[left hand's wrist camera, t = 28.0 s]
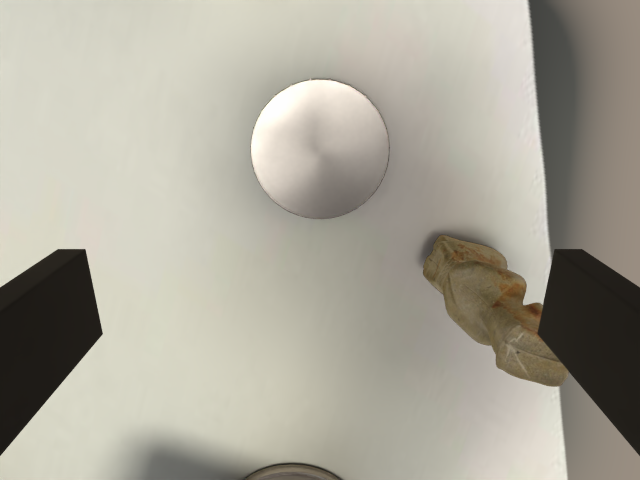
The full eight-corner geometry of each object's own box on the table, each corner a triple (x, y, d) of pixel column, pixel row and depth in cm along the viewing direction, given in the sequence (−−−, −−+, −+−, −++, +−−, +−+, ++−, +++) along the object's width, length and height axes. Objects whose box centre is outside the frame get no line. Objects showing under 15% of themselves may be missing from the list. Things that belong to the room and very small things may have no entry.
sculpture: (474, 298, 41) (554, 414, 27) (407, 270, 40) (454, 374, 26) (508, 246, 39) (612, 341, 25) (439, 215, 38) (508, 296, 24)
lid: (236, 188, 38) (232, 193, 36) (276, 56, 34) (274, 55, 32) (357, 230, 39) (358, 237, 37) (408, 107, 35) (412, 109, 34)
